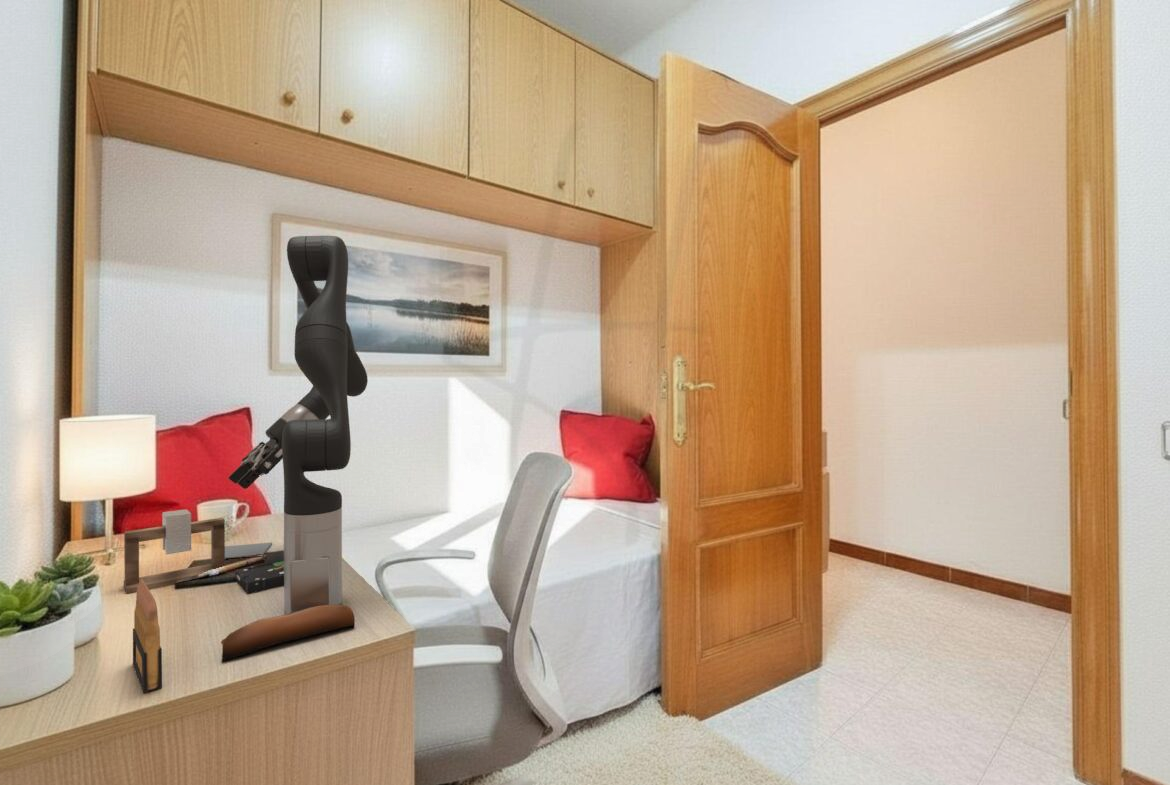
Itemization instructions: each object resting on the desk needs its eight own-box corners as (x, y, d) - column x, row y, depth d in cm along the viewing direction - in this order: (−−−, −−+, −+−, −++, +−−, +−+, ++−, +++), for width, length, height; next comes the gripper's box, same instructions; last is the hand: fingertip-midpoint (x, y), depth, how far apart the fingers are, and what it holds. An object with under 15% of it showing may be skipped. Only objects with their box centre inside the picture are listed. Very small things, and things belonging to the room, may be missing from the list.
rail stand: (220, 566, 116) (220, 516, 116) (226, 573, 112) (226, 520, 112) (123, 585, 105) (123, 529, 105) (126, 593, 101) (126, 535, 100)
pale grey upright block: (186, 545, 112) (186, 509, 111) (191, 550, 108) (191, 513, 108) (162, 549, 109) (162, 512, 109) (166, 554, 105) (166, 516, 105)
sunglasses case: (342, 610, 93) (347, 583, 90) (351, 644, 88) (357, 616, 86) (216, 641, 82) (218, 611, 79) (220, 681, 77) (221, 651, 74)
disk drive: (247, 598, 100) (329, 577, 111) (246, 583, 100) (329, 564, 111) (234, 583, 108) (313, 565, 118) (234, 569, 108) (313, 552, 118)
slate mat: (262, 556, 123) (262, 554, 123) (211, 561, 120) (211, 558, 120) (272, 544, 132) (272, 542, 132) (225, 548, 129) (225, 546, 129)
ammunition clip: (162, 688, 69) (161, 596, 69) (143, 694, 68) (143, 600, 68) (149, 659, 77) (149, 575, 76) (132, 664, 75) (132, 579, 75)
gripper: (272, 415, 127) (214, 469, 119) (291, 418, 116) (229, 476, 108) (296, 436, 130) (242, 489, 122) (317, 440, 120) (259, 499, 112)
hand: (236, 483), depth 115 cm, fingers open, 8 cm apart
